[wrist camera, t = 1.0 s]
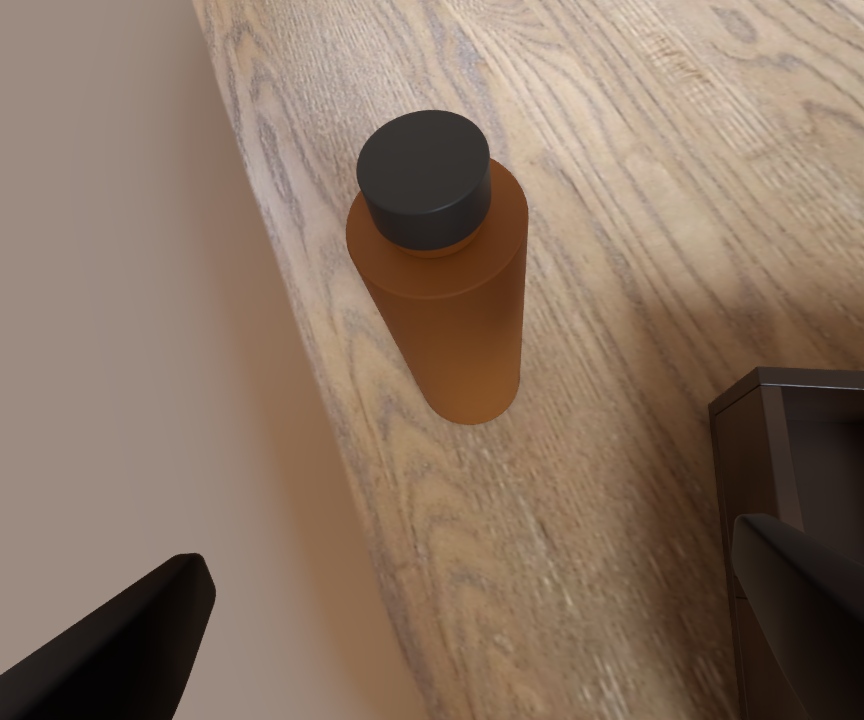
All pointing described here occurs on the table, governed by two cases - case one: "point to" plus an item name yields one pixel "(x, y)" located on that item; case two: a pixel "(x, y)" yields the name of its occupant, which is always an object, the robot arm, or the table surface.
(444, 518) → the table surface
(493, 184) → the amber bottle
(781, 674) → the rack
